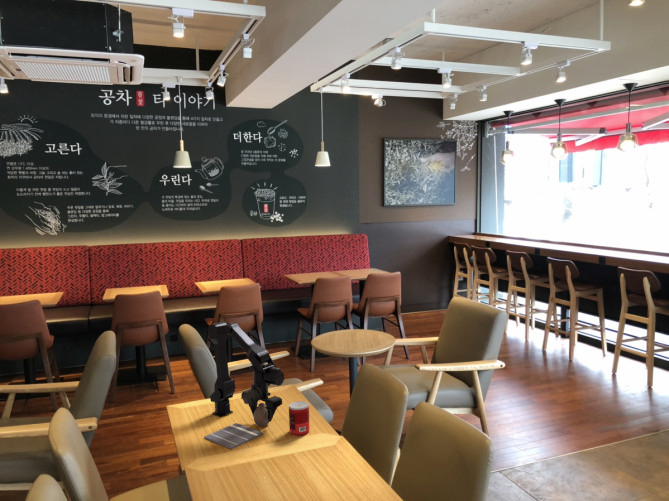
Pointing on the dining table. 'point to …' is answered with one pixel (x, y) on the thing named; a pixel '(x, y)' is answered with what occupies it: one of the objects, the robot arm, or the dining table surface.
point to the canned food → (299, 418)
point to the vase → (261, 415)
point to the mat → (233, 435)
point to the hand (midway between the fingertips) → (262, 418)
